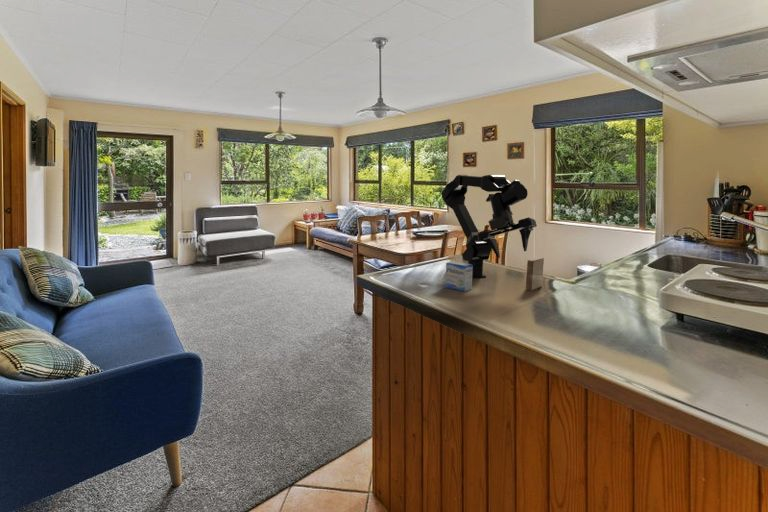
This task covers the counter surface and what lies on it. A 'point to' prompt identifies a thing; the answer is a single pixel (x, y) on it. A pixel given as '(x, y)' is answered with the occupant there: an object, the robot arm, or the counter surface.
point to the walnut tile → (534, 273)
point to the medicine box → (458, 276)
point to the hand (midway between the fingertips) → (511, 254)
